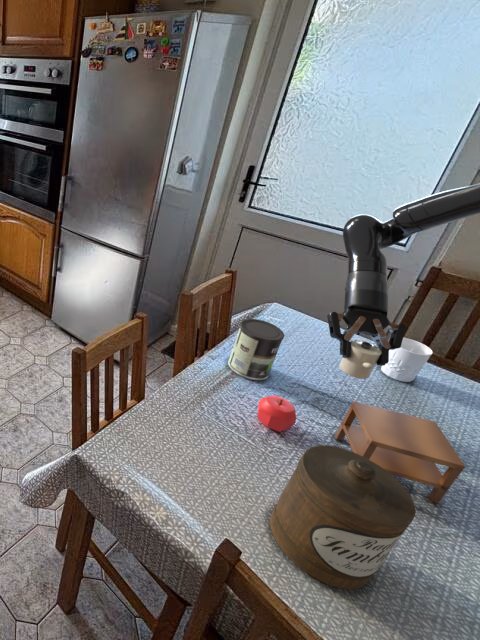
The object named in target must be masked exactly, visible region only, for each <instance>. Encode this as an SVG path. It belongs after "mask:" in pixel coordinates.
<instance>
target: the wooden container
mask: <svg viewBox="0 0 480 640" xmlns="http://www.w3.org/2000/svg"><path fill="white" fill-rule="evenodd" d="M416 511H417V510H416V505H415V502H414V499H413V498H412V496H411V494H410V493H409V491H408V490H407V488H406V487H404V485H403V484H402V483H401V482H400V481H399V480H398V479H397V478H396V477H394V475H392V474H390V473H388V472H387V471H386V470H385V469H383V468H382V467H380V466H379V465H377V464H376V463H374V462H372V461H370V460H369V459H367V458H365V457H363V456H361V455H359V454H356V453H354V452H353V451H352V450H348V449H345V448H344V447H343V448H342V447H339V446H333V445H327V444H321V445H320V444H319V445H315V446H314V445H313V446H311V447H309V448H307V449H306V450H305V452H304V453H303V454H302V456H301V457H300V459H299V460H298V463H297V465H296V468H295V469H294V471H293V473H292V475H291V477H290V478H289V480H288V482H287V483H286V485H285V486H284V488H283V490H282V492H281V493H280V496H279V498H278V500H277V503H276V504H275V506H274V508H273V510H272V512H271V515H270V518H269V526H270V530H271V533H272V536H273V538H274V539H275V541H276V543H277V544H278V546H279V548H280V549H281V550H282V551H283V553H284V554H285V555H286V556H287V558H289V559H290V560H291V562H292V563H294V564H295V565H296V566H297V567H298V568H299V569H300V570H302V571H303V572H305V573H307V574H308V575H309V576H310V577H312V578H314V579H316V580H317V581H319V582H321V583H324V584H325V585H328V586H331V587H334V588H337V589H342V590H343V589H344V590H356V589H360V588H362V587H364V586H365V585H367V583H369V581H370V580H371V578H372V577H373V576H374V574H376V572H377V571H378V570H379V568H380V567H381V566H382V565H383V563H384V562H385V561H386V559H387V558H388V557H389V555H390V554H391V552H392V550H393V549H394V547H395V546H396V544H397V543H398V542H399V540H400V538H401V537H402V535H404V532H405V531H407V530H408V528H409V526H410V525H411V523H412V522H413V521H414V519H415V516H416Z"/></svg>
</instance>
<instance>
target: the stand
mask: <svg viewBox="0 0 480 640" xmlns="http://www.w3.org/2000/svg"><path fill="white" fill-rule="evenodd" d="M355 419H357V421H358V423H359V424H357V423H356V424H355V423H353V422H354V421H355ZM334 437H335V440H336V441H340V442H343V441H344V439H345V437H346V440H347V441H348V444H349V446H350V448H351V451H352V452H354V453H356V454H359V455H361V456H363V457H365V458H367V459H369V460H370V461H372V462H374V463H376V464H377V465H379V466H380V467H382V468H383V469H385V470H386V471H387V472H388V473H390V474H391V475H392V476H396V477H399V478H402V479H404V480H405V479H406V480H408V481H412V482H416V483H419V484H422V485H426V486H429V487H433V488H432V490H431V491H430V492H429V494H428V495H427V499H428V501H429V502H430V503H434V504H439V503H440V502H441V500H442V499H443V497H444V495H446V494H447V492H448V491H449V490H450V488H451V487H452V485H453V484H454V483H455V481H456V480H457V479H458V477H459V476H460V475H461V473H462V472H463V471H464V470H465V468H466V465H465V463H464V462H463V460H462V459H461V458H460V456H459V454H458V453H457V452H456V450H455V448H454V447H453V446H452V444H451V443H450V442H449V440H448V438H447V437H446V435H445V434H444V432H443V431H442V429H441V428H440V427H439V425H438V423H437V422H436V421H433V420H430V419H425V418H421V417H417V416H413V415H409V414H406V413H403V412H399V411H398V412H397V411H394V410H389V409H386V408H382V407H377V406H373V405H371V404H365V403H363V402H359V401H358V402H357V401H355V400H353V401H352V402H351V404H350V406H349V408H348V410H347V412H346V414H345V416H344V418H343V420H342V421H341V423H340V425H339V427H338V429H337V431H336V433H335V434H334ZM437 465H441V466H444V467H448V468H447V469H446V470H445V472H444V473H443V474H442V472H441V471H440V470H439V468H438V466H437Z"/></svg>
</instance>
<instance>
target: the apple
mask: <svg viewBox="0 0 480 640" xmlns="http://www.w3.org/2000/svg"><path fill="white" fill-rule="evenodd" d="M257 420H258V421H259V422H260V423H261V424H263V426H265V427H266V428H268V429H271V430H273V431H276V432H279V433H280V432H285V431H289V430H290V429H291V428H292V427H293V426H294V425H295V424H296V421H297V412H296V408H295V406H294V404H293V403H291V402H290V401H289V400H287V399H286V398H284V397H282V396H278V395H275V394H273V395H269V396H265V397H262V398H261V399H260V400H259V401H258V404H257Z"/></svg>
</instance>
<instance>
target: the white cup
mask: <svg viewBox="0 0 480 640" xmlns="http://www.w3.org/2000/svg"><path fill="white" fill-rule="evenodd" d="M433 353H434V352H433V350H432V348H431V347H429V346H427V345H426V344H424V343H422V342H419V341H417V340H414V339H411V338H407V337H403V340H402V344H401V347H400V348H397V349H394V350H389V362H388V363H387V364H385V365H384V366H380V367H381V368H380V370H381V372H382V373H383V374H384V375H386V376H387V377H389V378H392V379H393V380H396V381H399V382H402V383H403V382H404V383H410V382H413V381H414V380H415V379H416V377H417V375H418V374H419V373H420V372H421V371H422V370H423V368H424V367H425V365H426V363H427V362H428V361H429V359H430V358H431V356H433Z"/></svg>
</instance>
